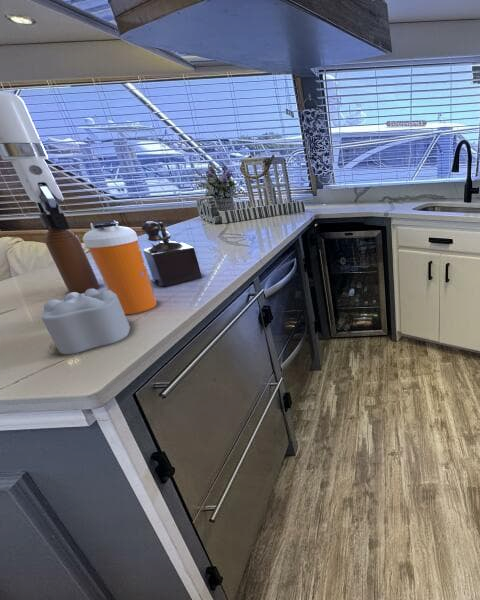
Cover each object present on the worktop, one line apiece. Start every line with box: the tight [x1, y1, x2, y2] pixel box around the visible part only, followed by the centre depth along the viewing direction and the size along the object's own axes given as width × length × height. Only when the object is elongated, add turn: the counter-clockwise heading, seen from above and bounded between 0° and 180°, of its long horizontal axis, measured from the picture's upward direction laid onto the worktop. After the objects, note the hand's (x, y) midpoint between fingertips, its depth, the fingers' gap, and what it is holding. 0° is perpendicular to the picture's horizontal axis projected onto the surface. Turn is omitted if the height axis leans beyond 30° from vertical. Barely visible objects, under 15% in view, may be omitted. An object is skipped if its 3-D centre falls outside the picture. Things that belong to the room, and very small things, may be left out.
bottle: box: [44, 227, 101, 294], centre depth 86 cm, size 6×6×20 cm
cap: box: [38, 213, 51, 228], centre depth 82 cm, size 4×4×3 cm
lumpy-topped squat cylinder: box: [40, 289, 131, 355], centre depth 62 cm, size 10×13×9 cm
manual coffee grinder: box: [141, 221, 202, 287], centre depth 90 cm, size 16×11×18 cm
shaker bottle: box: [82, 219, 158, 315], centre depth 72 cm, size 9×9×20 cm
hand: (58, 228), depth 83 cm, fingers open, 5 cm apart
